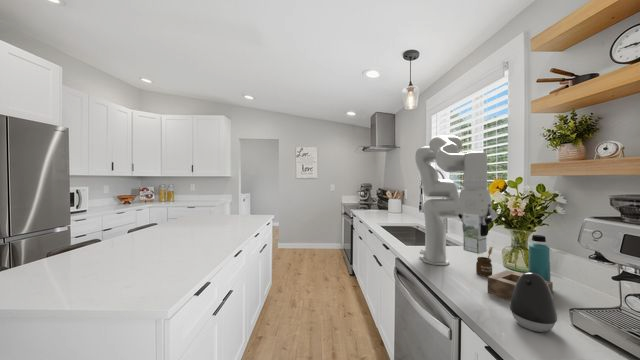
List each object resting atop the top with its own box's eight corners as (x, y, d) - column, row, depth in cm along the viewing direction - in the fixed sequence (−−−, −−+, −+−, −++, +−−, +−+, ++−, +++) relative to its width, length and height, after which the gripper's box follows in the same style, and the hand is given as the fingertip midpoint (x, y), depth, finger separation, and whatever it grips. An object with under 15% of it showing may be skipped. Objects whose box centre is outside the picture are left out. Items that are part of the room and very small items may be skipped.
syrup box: (487, 251, 95) (487, 212, 95) (478, 254, 92) (478, 213, 92) (471, 248, 100) (471, 210, 100) (462, 250, 97) (462, 211, 97)
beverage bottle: (554, 291, 96) (554, 237, 96) (534, 289, 97) (534, 236, 97) (543, 284, 102) (543, 234, 102) (524, 283, 104) (524, 233, 104)
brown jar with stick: (473, 272, 116) (473, 245, 116) (486, 271, 116) (486, 245, 116) (481, 277, 110) (481, 248, 110) (496, 276, 111) (496, 248, 111)
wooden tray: (487, 293, 94) (487, 276, 94) (506, 285, 101) (506, 270, 101) (534, 309, 82) (534, 291, 82) (552, 299, 89) (552, 282, 89)
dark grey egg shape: (503, 324, 74) (503, 271, 74) (517, 313, 80) (517, 264, 80) (550, 342, 66) (550, 282, 66) (561, 329, 72) (561, 274, 72)
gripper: (447, 185, 102) (447, 230, 102) (494, 185, 87) (494, 239, 87) (459, 184, 105) (459, 229, 105) (506, 185, 90) (506, 237, 90)
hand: (475, 233), depth 96 cm, fingers closed on syrup box, 5 cm apart
